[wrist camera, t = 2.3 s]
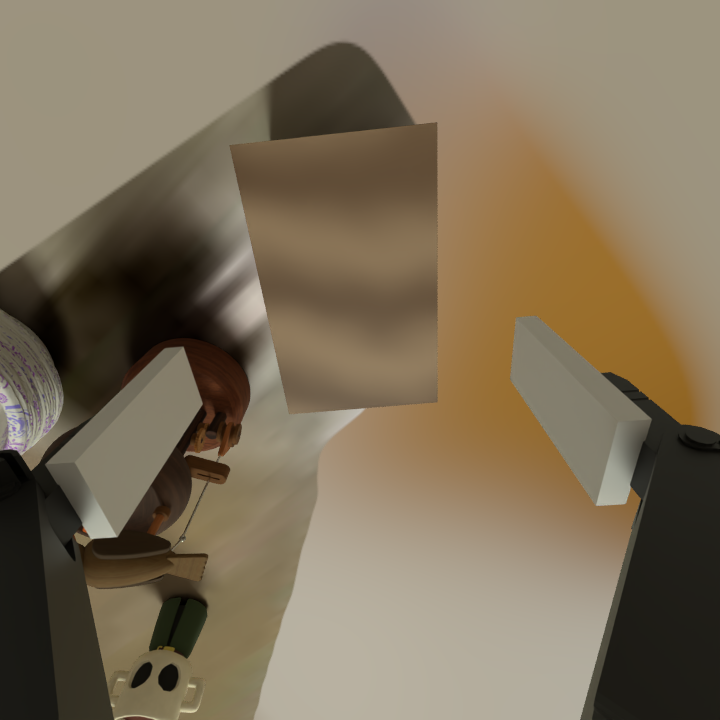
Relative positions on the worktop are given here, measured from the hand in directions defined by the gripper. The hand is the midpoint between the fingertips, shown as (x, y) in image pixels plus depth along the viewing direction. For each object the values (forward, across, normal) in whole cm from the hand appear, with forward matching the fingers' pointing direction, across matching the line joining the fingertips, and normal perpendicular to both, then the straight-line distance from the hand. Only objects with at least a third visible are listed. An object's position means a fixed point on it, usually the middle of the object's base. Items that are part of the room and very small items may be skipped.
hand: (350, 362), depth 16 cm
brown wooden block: (+18, 0, 0) cm, 18 cm away
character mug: (+18, -28, -46) cm, 57 cm away
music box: (+18, -17, -10) cm, 27 cm away
